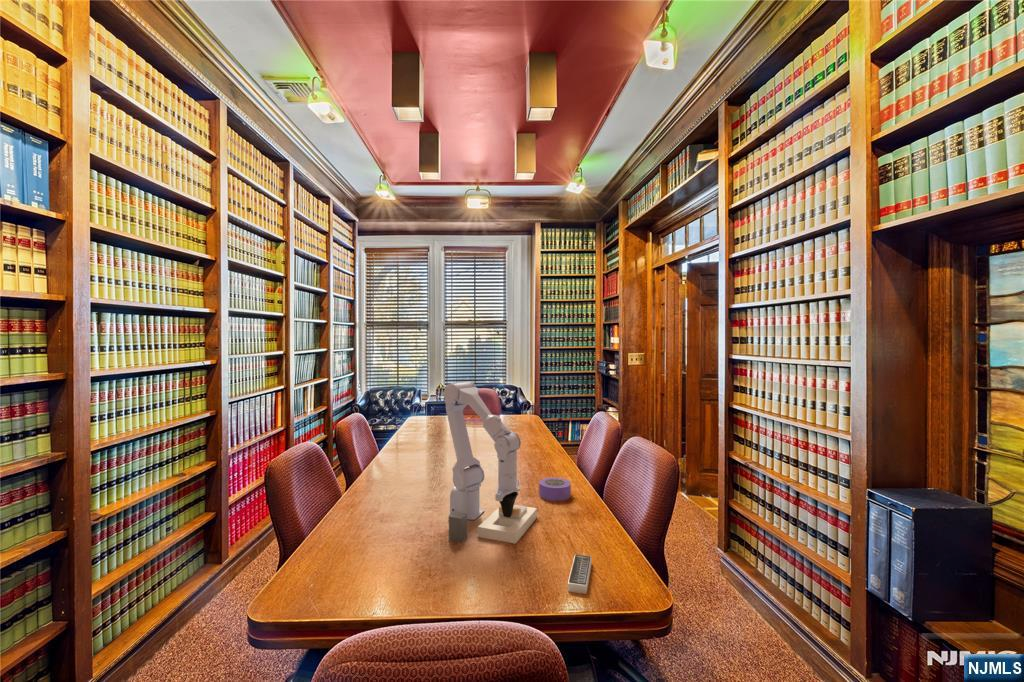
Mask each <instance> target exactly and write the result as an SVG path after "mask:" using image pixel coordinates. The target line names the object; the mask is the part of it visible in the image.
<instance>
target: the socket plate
mask: <svg viewBox="0 0 1024 682" xmlns="http://www.w3.org/2000/svg"><path fill="white" fill-rule="evenodd" d="M515 505H516V504H515ZM516 506H519V505H518V504H517V505H516ZM521 506H522V507H527V511H526V512H525V513H524V514H523V515H522V516H521V517H520V518H514V517H510V518H509V517H504V516H501V515H499V507H497V508H496V509H495V510H494V511H493V512H492V513H491V514H490V515H488V517H487V518H486V519H485V520H484V521H482V522H481V524H479V525H478V526H477V537H478V538H482V539H486V540H487V539H488V540H493V541H498V542H504V543H510V544H517V542H519V540H520V539H521V538H522V537H523V535H524V534H525V533H526V532H527V530H528V529H529V528H530V527H531V526H532V524H533V523H534V521H536V520H537V518H538V508H537V507H532V506H531V507H530V506H525V505H521Z"/></svg>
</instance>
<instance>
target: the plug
mask: <svg viewBox="0 0 1024 682" xmlns="http://www.w3.org/2000/svg"><path fill="white" fill-rule="evenodd" d="M467 538H468V519H467V513H461V512H454V513H453V514H451V515H450V516H449V515H448V541H450V542H456V543H460V544H461V543H463V541H465V539H467Z"/></svg>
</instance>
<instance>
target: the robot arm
mask: <svg viewBox="0 0 1024 682" xmlns="http://www.w3.org/2000/svg"><path fill="white" fill-rule="evenodd" d="M442 394H443V399H444V402H445V413H446V417H447V420H448V424H449V430H450V434H451V438H452V443H453V448H454V452H455V456H456V457H455V458H456V462H455V464H454V465H453V467H451V470H452V483H453V485H454V486H453V487H452V488H451V490H450V494H449V514H448V517H449V516H450V515H451V514H453V513H454V512H461V513H467V520H472V521H475V520H476V519H477V518H479V517H480V515H482V514H483V513H484V512H485V509H481V508H480V487H482V483H483V482H484V480H485V471H484V469H483V467H482V466H481V463H480V460H479V459H477V458H476V457H474V455H473V451H472V446H471V441H470V437H469V434H468V433H469V431H468V429H467V425H466V419H465V416H464V409H465V408H466V407H467V406H469V407H470V408H471V409H472V410H473V412H475V414H476V415H477V416H478V417H479V418H480V419H481V421H483V423H482V427H483V428H484V430H485V431H486V432H487V434H488V435H489V437H490V438H491V439H492V440H493V442H494V443H493V446H494V449H495V451H496V454H497V455H496V456H497V460H498V461H497V462H498V465H497V467H498V469H497V473H498V477H497V478H498V479H497V481H498V482H497V483H498V485H497V490H496V493H495V496H494V497H495V501H497V502H499V504H500V506H501V507H502V512H503V516H504V517H509V518H510V517H511V515H512V511H513V506H514V505H515V502H516V500H517V497H518V495H519V491H521V487H520V486H519V479H518V477H517V476H518V474H517V471H518V467H517V466H518V462H517V461H518V457H517V456H518V450H519V449H520V447H521V443H522V442H521V439H520V437H519V434H518V433H517V432H515V431H512V430H510V429H509V428H508V427H507V426H506V425H505V424H504V422H503V421H502V418H501V417H500V416H498V415H496V414H492V413H491V411H490V410H489V408H488V407H487V405H486V404H485V401H483V399H482V397H480V394H479V388H478V387H477V386H476V385H475V383H474V382H472V381H463V382H456V383H448V384H447V385H446V386H445V388H444V390H443V392H442Z"/></svg>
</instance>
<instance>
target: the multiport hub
mask: <svg viewBox="0 0 1024 682" xmlns="http://www.w3.org/2000/svg"><path fill="white" fill-rule="evenodd" d="M591 571H592V556H591V555H583V554H574V557H573V560H572V563H571V567H570V573H569V576H568V580H567V592H572V593H578V594H584V595H585V594H588V588H589V583H590V582H589V581H590V576H591Z"/></svg>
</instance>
